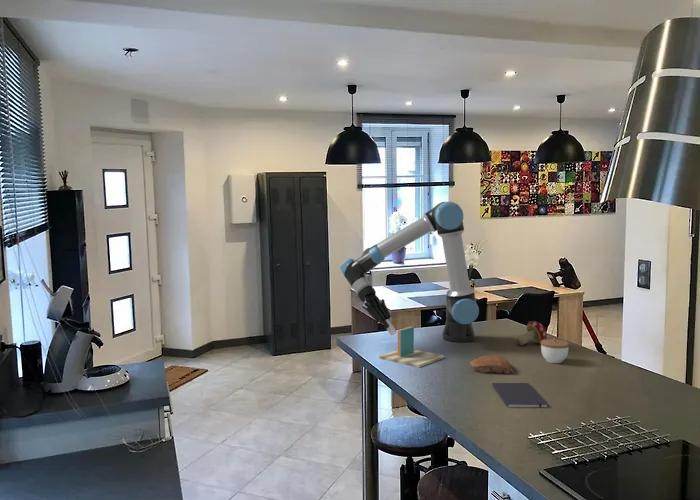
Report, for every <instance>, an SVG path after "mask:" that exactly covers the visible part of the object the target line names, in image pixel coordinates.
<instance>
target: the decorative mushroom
mask: <svg viewBox="0 0 700 500" xmlns="http://www.w3.org/2000/svg"><path fill="white" fill-rule="evenodd" d="M526 331H527V332H526V333H524V334H521V335H517V336H516V338H515V343H516V344H517V345H519V346H524V345H525V344H527V343H528V342H529V341H531V340H532V341H533V342H534V343H535V344H537V345H541V341H542V340H546V339H547V336H548V335H547V330H546V327H545V326H544V325H543V324H542V323H541V322H539V321H535V320H532V321H528V323H527V325H526Z"/></svg>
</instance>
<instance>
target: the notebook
mask: <svg viewBox="0 0 700 500" xmlns="http://www.w3.org/2000/svg"><path fill="white" fill-rule="evenodd" d="M492 388H493V389H494V390H495V392H496V393H497V394H498V396H499V398H500V399H501V400H502V401H503V403H504V404H505V406H506V407H507V408H547V406H548V403H547V401H546V400H545V399H544V398H543V397H542V396H541V395H540V394H539V393H538V392H537V390H536V389H535V388H533V386H532V385H531V384H530V383H528V382H492Z"/></svg>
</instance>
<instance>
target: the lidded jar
mask: <svg viewBox="0 0 700 500" xmlns="http://www.w3.org/2000/svg"><path fill="white" fill-rule="evenodd" d="M569 343H570V342H568V341H565V340H561V339H557V338H555V337H553V339H551V338H548V339H547V338H546V340H542V341H541V344H540V351H541V356H542V357H543V358H544V360H545V361H546V362H547V363H551V364H561V363H563V362H564V361H565V360H566V358H567V357H568V354H569V347H570V344H569Z"/></svg>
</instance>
